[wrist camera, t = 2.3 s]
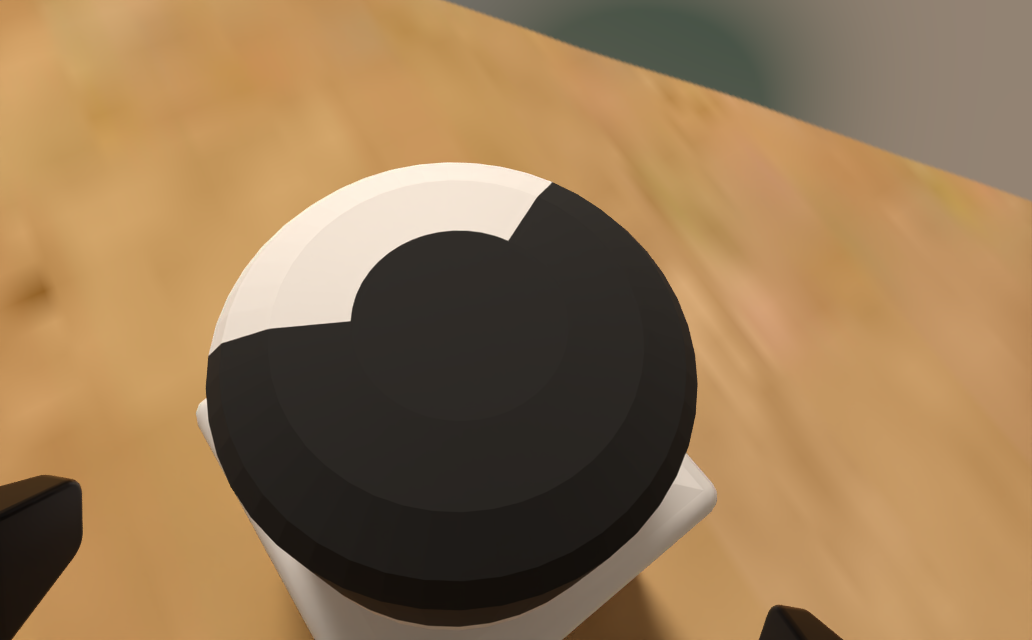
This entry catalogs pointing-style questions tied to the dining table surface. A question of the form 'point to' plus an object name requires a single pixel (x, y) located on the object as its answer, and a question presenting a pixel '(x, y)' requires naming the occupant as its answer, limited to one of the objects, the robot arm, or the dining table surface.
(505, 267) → the medicine bottle
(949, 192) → the dining table surface
